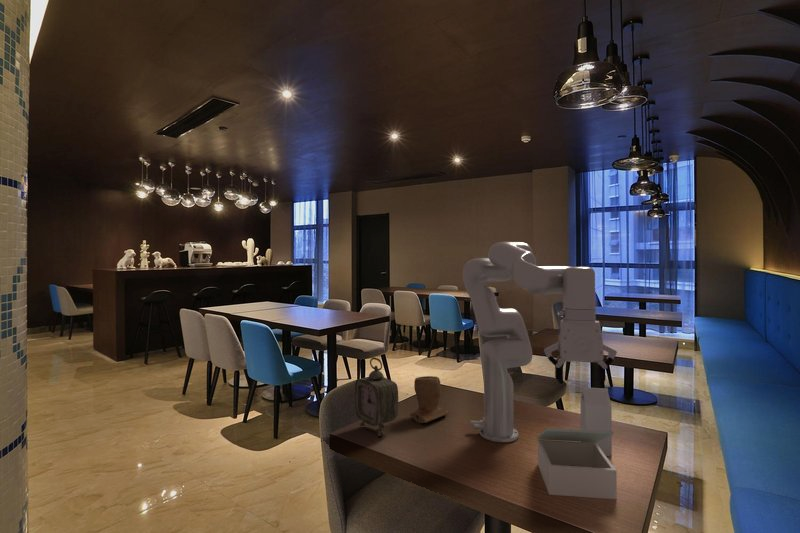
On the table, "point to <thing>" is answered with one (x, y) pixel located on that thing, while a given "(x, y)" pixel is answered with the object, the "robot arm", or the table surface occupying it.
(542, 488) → the table surface
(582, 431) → the box lid
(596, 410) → the milk carton
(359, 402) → the tabletop clock
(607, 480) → the pastry box
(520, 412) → the table surface
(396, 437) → the table surface
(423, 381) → the brown upright piece
